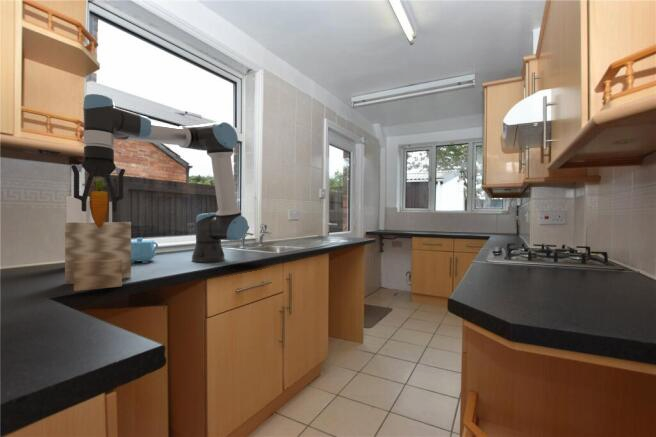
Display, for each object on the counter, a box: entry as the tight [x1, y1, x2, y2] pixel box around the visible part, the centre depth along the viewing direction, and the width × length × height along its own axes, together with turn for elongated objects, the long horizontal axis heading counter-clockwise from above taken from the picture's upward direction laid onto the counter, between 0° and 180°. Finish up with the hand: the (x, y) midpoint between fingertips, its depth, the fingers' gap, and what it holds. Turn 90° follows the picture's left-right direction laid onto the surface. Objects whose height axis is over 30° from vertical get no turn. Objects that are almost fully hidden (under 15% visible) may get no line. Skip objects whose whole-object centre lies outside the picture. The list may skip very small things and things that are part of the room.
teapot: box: [131, 237, 159, 265], centre depth 146 cm, size 16×18×11 cm
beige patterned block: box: [64, 221, 132, 292], centre depth 102 cm, size 18×14×20 cm
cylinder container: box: [66, 195, 94, 222], centre depth 132 cm, size 9×9×30 cm
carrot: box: [88, 179, 110, 228], centre depth 97 cm, size 5×5×15 cm
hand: (99, 222), depth 97 cm, fingers closed on carrot, 5 cm apart
